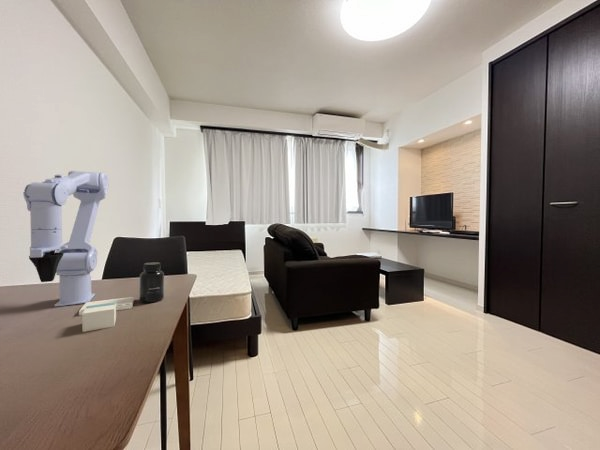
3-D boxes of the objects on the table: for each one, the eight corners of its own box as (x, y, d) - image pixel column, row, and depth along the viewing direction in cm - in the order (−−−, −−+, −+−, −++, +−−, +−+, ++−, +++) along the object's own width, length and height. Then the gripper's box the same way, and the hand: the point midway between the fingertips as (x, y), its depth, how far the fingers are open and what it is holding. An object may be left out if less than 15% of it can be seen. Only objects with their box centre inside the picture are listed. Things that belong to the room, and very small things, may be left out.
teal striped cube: (86, 323, 64) (86, 305, 64) (116, 318, 67) (115, 301, 67) (82, 332, 59) (82, 313, 59) (114, 327, 62) (114, 308, 62)
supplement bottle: (152, 304, 78) (152, 265, 78) (134, 302, 79) (134, 264, 79) (168, 297, 85) (168, 262, 84) (151, 296, 86) (151, 261, 86)
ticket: (86, 306, 75) (86, 302, 75) (134, 300, 81) (134, 296, 81) (78, 315, 68) (78, 310, 68) (131, 308, 74) (131, 304, 74)
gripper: (58, 230, 61) (59, 286, 62) (74, 227, 74) (75, 274, 74) (16, 230, 58) (17, 289, 58) (41, 228, 70) (42, 276, 71)
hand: (47, 281), depth 66 cm, fingers closed
